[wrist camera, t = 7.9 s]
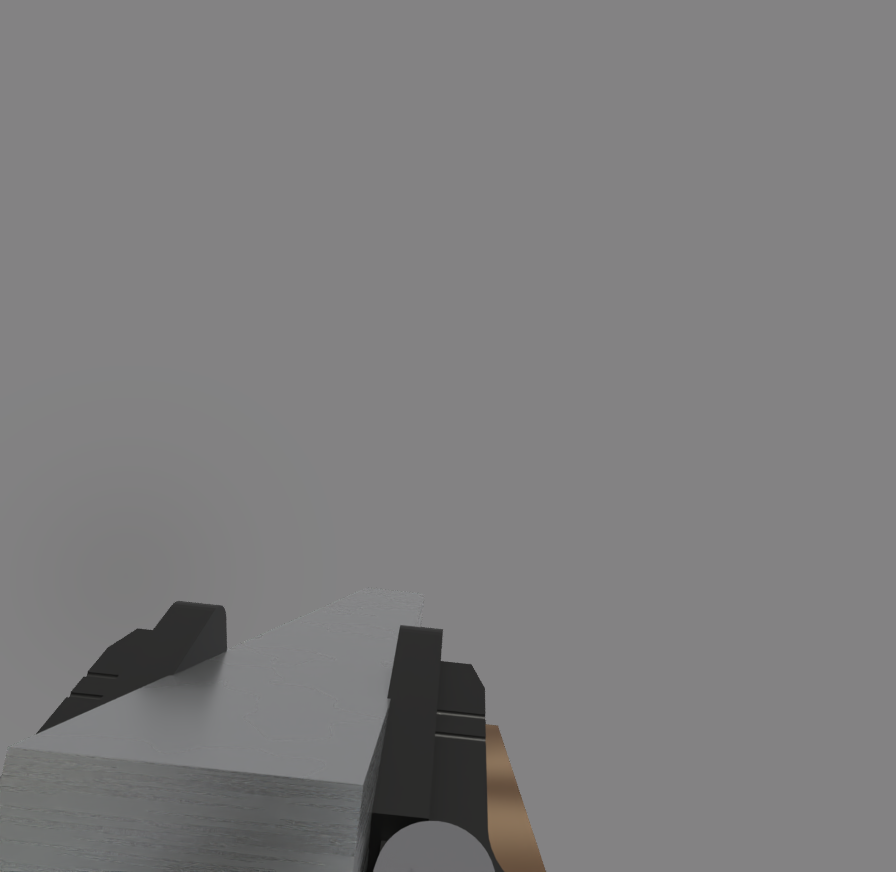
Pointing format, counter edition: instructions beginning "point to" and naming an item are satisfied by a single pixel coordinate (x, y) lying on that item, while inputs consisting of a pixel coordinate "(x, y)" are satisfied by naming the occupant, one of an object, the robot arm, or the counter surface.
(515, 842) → the brown tall ridged block
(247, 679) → the steel bar
